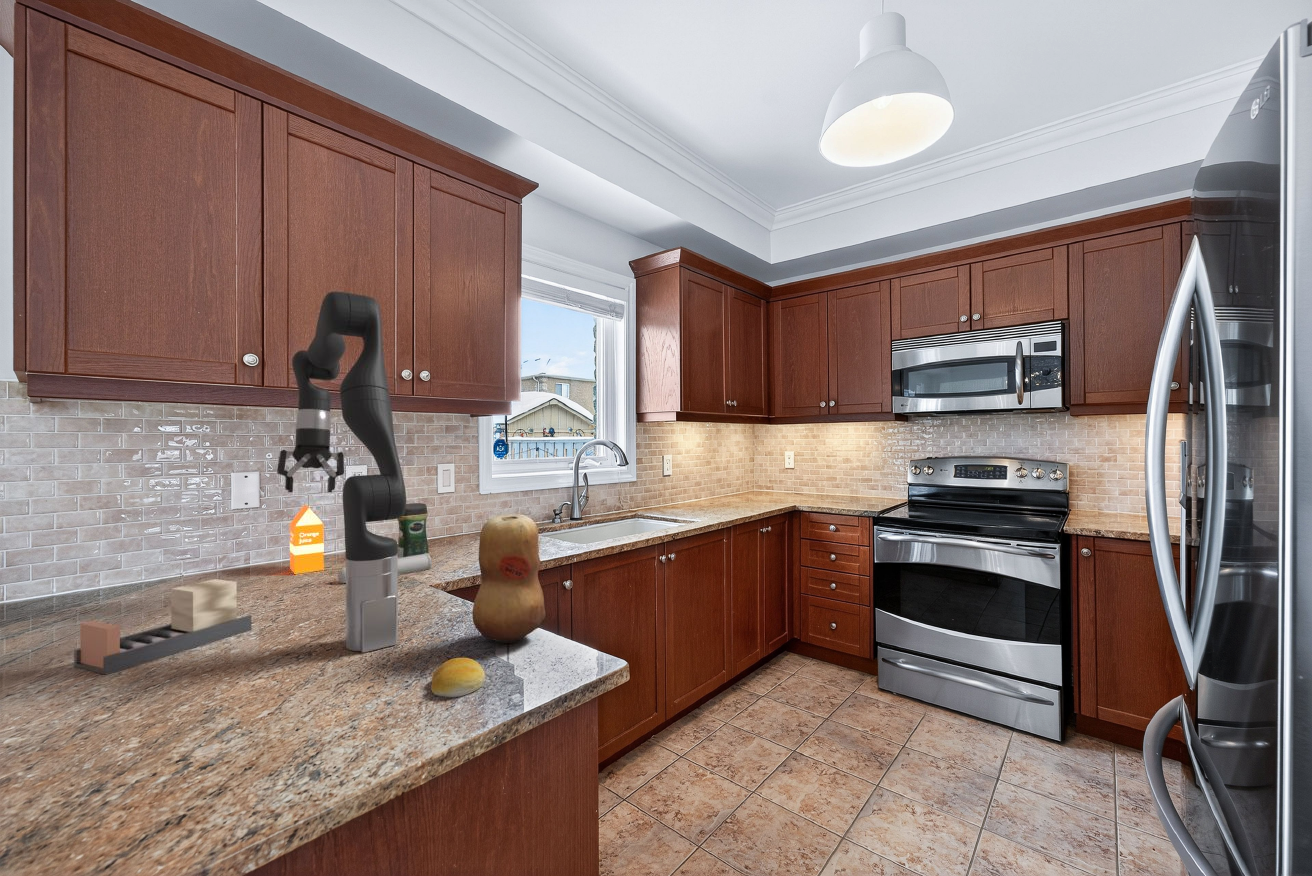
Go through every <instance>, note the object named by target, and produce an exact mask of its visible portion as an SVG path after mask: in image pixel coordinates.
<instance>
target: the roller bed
mask: <svg viewBox="0 0 1312 876" xmlns="http://www.w3.org/2000/svg"><path fill="white" fill-rule="evenodd" d="M252 630H253V629H252V615H251V614H249V615H245V616H241V617H237V619H234V620H230V621H227V622H223V623H220V624H216V625H213V626H210V627H206V628H203V629H199V630H196V631H192V632H188V631H182V630H177V629H172V628H171V623H170V624H166V625H162V626H158V627H155V628H151V629H146V630H143V631H139V632H137V633H133V634H128V635H124V636H120V652H119V653H115V654H112V655H108V656H105V657H103V668H99V667H95V666H92V665H88V664H84V663H81V647H80V648H76V649H74V650H73V667H75V668H77V669H78V668H79V669H81V668H82V670H85V671H89V672H93V673H96V674H100V673H101V675H104V674H108V675H110V673H111V674H113V672H114V673H117V672H120V671H124V670H126V668H127V669H130V668H132V667H136V665H137V666H139V664H140V665H142V663H143V664H146V663H149V662H152V661H155V660H159V659H162V658H165V657H169V656H171V655H174V654H175V655H176V654H177V653H181V652H185V651H187V650H191V649H195V648H197V647H201V646H204V645H207V644H209V643H213V642H217V641H220V640H224V639H225V638H229V637H232V636H235V635H239V634H242V633H245V632H248V631H252ZM123 669H124V670H123Z"/></svg>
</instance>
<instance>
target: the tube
mask: <svg viewBox="0 0 1312 876" xmlns="http://www.w3.org/2000/svg"><path fill="white" fill-rule="evenodd" d="M431 567H432V558H431V556H430V554H428V553H424V554H421V555H415V556H408V557H402V558H398V574H401V575H405V574H404V573H407V574H411V573H410V572H413V573H418V572H417V571H419V572H425V571H431ZM338 571H339V572H338V573H337V577H338V582H339V583H340V584H344V583H346V581H345V574H346V566H343V567H342V568H341V569H340V570H338Z"/></svg>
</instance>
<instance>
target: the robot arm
mask: <svg viewBox="0 0 1312 876" xmlns="http://www.w3.org/2000/svg"><path fill="white" fill-rule="evenodd" d="M343 336H347V337H356V338H361V339H362V341H363V347H362V351H361V353H360V355H359V356H358V358H357V360H356V361H355V362H354V364H353V365H352V367H351V368H350V370H349V371H348V372H347V374H346V375H345V376H344V378H343V380H342V381H341V384H340V387H339V397H340V407H341V415H342V419H343V421H344V423H345V425H346V426H347V427H348V429H349V430H350V431H351V432H352V433H353V435H354V436H355V437H356V438H358V440H359V441H360V442H361V444H363V446H364V447H365V448H366V449H367V450H368V452H370V454H371V455H372V457H373V459H374V461H375V463H376V466H377V468H378V471H379V474H368V475H367V474H364V475H363V474H362V475H351V476H349V477H348V478H346V480H345V482H344V484H343V488H342V508H343V522H344V523H343V524H344V548H345V549H344V550H345V551H344V552H345V557H344V559H345V566H344V567H346V574H345V581H346V584H345V647H346V649H348V650H349V651H353V652H354V651H355V652H361V653H367V652H371V651H375V650H379V649H383V648H387V647H392V646H395V645H397V644H398V642H397V641H398V640H399V595H398V593H399V584H398V582H399V580H398V577H399V575H398V540H396V539H394V538H392V537H389V536H383V535H379V534H375V533H373V532H371V531H369V530H368V528H367V523H372V522H374V523H375V522H380V521H391V520H393V521H394V520H397V519H398V518H400V517H402V516H403V514H404V513H405V509H406V504H407V493H406V491H407V490H406V486H405V481H404V480H405V479H404V476H403V471H402V467H401V464H400V459H399V454H398V449H397V445H396V438H395V431H394V421H393V414H392V413H393V412H392V405H391V404H392V403H391V397H390V390H389V385H388V379H387V373H386V367H385V360H384V359H385V358H384V357H385V356H384V348H383V345H384V343H383V328H382V313H381V308H380V304H379V303H378V301H377V299H376V298H375V297H372V296H368V295H364V294H363V295H362V294H358V293H350V292H345V291H330V292H327V294H326V295H325V296H324V298H323V299H322V302H321V305H320V309H319V315H318V318H317V323H316V329H315V334H314V337H313V339H312V341H311V343H310V344H309V346H308V348H307V350H304V349H301V350H298V351H296V353H295V354H294V355H293V356H292V361H291V363H292V370H293V373H294V376H295V381H296V384H297V389H298V405H297V407H298V409H297V415H296V421H295V422H296V423H295V441H294V442H295V443H294V449H293V450H292V451H291V450H290V451H289V450H286V449H281V450H280V451H279V455H278V462H277V471H276V473H277V475H281V476H283V477H285V486H284V488H285V490H286V491H287V493H293V490H294V477H293V475H294V474H296V473H297V472H298V470H300V469H301V468H303V469H309V468H311V469H322V470H323V472H325V473H326V475H327V476H328V478H327V486H326V487H327V492H326V493H333V490H335V489H336V478H337V477H339V476H343V475H344V474H345V462H344V461H345V454H344V452H343V451H339V452H331V449H330V447H331V427H332V422H331V421H332V419H331V418H332V417H331V403H332V402H331V401H332V395H331V392H330V391H329V390H328V389H326V388H323V387H319V386H317V385H314V384H313V383H312V382H311V379H312V380H317V381H318V380H319V381H332V380H335V379H337V378H338V377H339V375H340V370H341V367H340V365H341V363H340V360H341V358H342V357H343V355H344V354H345V351H346V349H347V348H346V347H347V345H346V341H345V338H344V337H343ZM291 456H292V457H293V458H294V460H295V461H296V462H295V463H294V465H292V466H291V468H289V469H288V470H286V469H285V467H286V461H287V460H288V459H290V457H291ZM332 458H333V460H334V461H335V462H336V471H335V470H334V469H333V468H332V466H331V465H330V464H329V463H328V461H329V460H330V459H332Z"/></svg>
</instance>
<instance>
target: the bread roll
mask: <svg viewBox="0 0 1312 876" xmlns="http://www.w3.org/2000/svg"><path fill="white" fill-rule="evenodd" d="M485 680H486V672H485V670H484V668H483V667H482V665H481V664H479V662H477V661H476V660H475V659H472V658H469V657H456V658H455V657H454V658H451V659H449V660H446V661H445V662H444V663H441V665H440V666H438V668H436V670H434V672H433V674H432V676H431V686H430V689H431V691H432V693H433V694H434V695H435V696H438V697H445V698H458V697H459V698H460V697H462V696H463V697H464V696H467V695H470V694H471V693H473V692H476V691H478V690H479V689H480V688H482V686H483V685H484V683H485Z"/></svg>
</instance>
